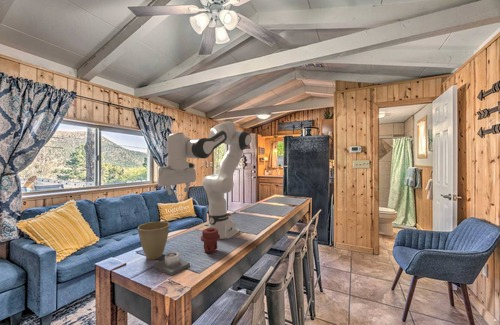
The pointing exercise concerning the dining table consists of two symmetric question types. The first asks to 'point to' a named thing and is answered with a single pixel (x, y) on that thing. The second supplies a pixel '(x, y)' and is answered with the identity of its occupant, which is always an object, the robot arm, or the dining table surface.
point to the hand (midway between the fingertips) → (178, 193)
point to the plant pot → (153, 238)
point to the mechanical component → (210, 239)
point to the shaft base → (172, 269)
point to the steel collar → (172, 259)
